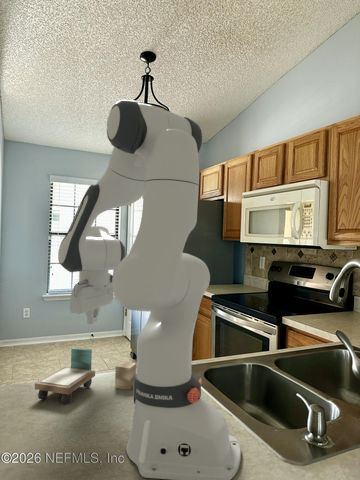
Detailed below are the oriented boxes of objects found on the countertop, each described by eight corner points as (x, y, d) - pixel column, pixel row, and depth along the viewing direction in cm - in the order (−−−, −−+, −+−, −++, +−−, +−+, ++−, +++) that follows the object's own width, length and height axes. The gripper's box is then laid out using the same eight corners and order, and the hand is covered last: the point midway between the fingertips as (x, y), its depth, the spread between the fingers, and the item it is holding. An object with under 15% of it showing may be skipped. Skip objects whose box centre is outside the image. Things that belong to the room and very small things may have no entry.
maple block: (135, 383, 99) (136, 363, 99) (129, 389, 95) (130, 368, 95) (121, 381, 100) (122, 361, 100) (115, 387, 96) (115, 366, 96)
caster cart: (96, 384, 97) (97, 350, 98) (68, 406, 84) (69, 366, 84) (66, 380, 100) (67, 346, 100) (34, 400, 86) (35, 361, 87)
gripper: (84, 282, 94) (82, 331, 94) (117, 276, 114) (115, 317, 113) (65, 280, 96) (63, 329, 95) (100, 275, 115) (99, 316, 115)
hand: (92, 323), depth 105 cm, fingers closed
